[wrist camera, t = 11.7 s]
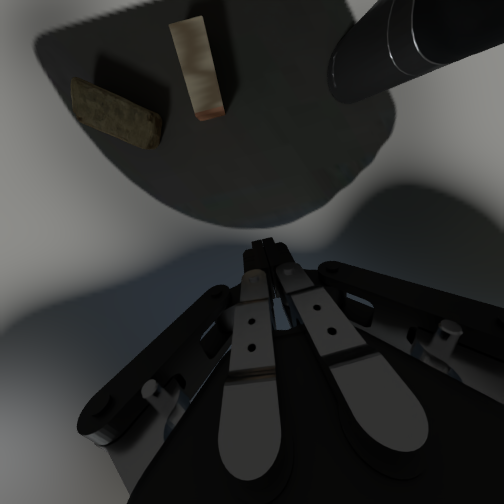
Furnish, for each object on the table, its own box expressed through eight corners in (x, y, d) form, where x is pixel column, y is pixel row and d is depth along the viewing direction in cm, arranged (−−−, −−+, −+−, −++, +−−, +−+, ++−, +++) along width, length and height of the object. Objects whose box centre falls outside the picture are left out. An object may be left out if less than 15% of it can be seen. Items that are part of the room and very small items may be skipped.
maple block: (225, 114, 33) (206, 34, 28) (223, 109, 29) (202, 15, 24) (200, 121, 33) (178, 42, 28) (196, 117, 29) (168, 24, 24)
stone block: (90, 82, 30) (66, 71, 25) (166, 116, 32) (155, 111, 28) (90, 123, 32) (68, 119, 28) (160, 151, 35) (150, 152, 30)
